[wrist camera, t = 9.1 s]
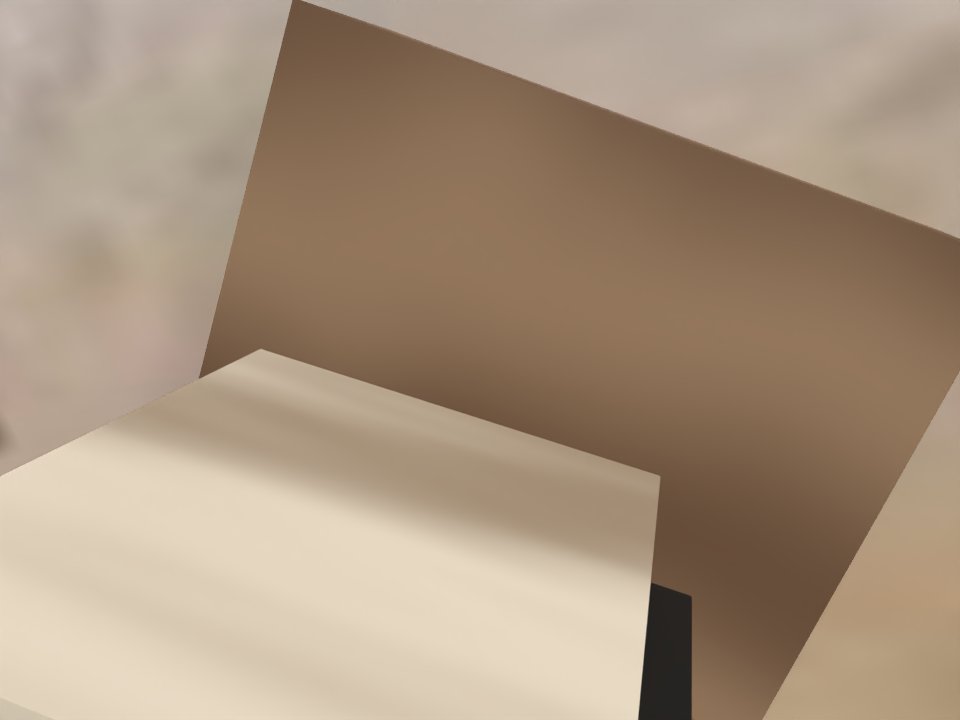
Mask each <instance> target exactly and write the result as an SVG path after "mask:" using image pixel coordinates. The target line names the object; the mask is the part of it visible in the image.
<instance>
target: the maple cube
mask: <svg viewBox="0 0 960 720" xmlns="http://www.w3.org/2000/svg"><path fill="white" fill-rule="evenodd" d="M659 487H660V476H659V475H656V474H653V473H649V472H646V471H643V470H640V469H637V468H634V467H630V466H627V465H624V464H621V463H618V462H615V461H612V460H608V459H605V458H602V457H599V456H596V455H593V454H590V453H586V452H583V451H580V450H577V449H574V448H571V447H568V446H564V445H561V444H558V443H555V442H552V441H549V440H546V439H542V438H539V437H536V436H533V435H530V434H527V433H524V432H520V431H517V430H514V429H511V428H508V427H505V426H502V425H498V424H495V423H492V422H489V421H486V420H483V419H480V418H476V417H473V416H470V415H467V414H464V413H461V412H457V411H454V410H451V409H448V408H445V407H442V406H439V405H435V404H432V403H429V402H426V401H423V400H420V399H417V398H413V397H410V396H407V395H404V394H401V393H398V392H395V391H391V390H388V389H385V388H382V387H379V386H376V385H373V384H369V383H366V382H363V381H360V380H357V379H354V378H351V377H347V376H344V375H341V374H338V373H335V372H332V371H329V370H325V369H322V368H319V367H316V366H313V365H310V364H307V363H303V362H300V361H297V360H294V359H291V358H288V357H284V356H281V355H278V354H275V353H272V352H269V351H266V350H262V349H259V350H257V351H255V352H253V353H251V354H249V355H247V356H245V357H243V358H241V359H239V360H237V361H235V362H233V363H231V364H229V365H227V366H225V367H223V368H221V369H218V370H216V371H214V372H212V373H210V374H208V375H206V376H204V377H202V378H200V379H198V380H196V381H194V382H192V383H190V384H188V385H186V386H184V387H182V388H180V389H178V390H176V391H174V392H172V393H169V394H167V395H165V396H163V397H161V398H159V399H157V400H155V401H153V402H151V403H149V404H147V405H145V406H143V407H141V408H139V409H137V410H135V411H133V412H131V413H129V414H127V415H125V416H123V417H120V418H118V419H116V420H114V421H112V422H110V423H108V424H106V425H104V426H102V427H100V428H98V429H96V430H94V431H92V432H90V433H88V434H86V435H84V436H82V437H80V438H78V439H76V440H73V441H71V442H69V443H67V444H65V445H63V446H61V447H59V448H57V449H55V450H53V451H51V452H49V453H47V454H45V455H43V456H41V457H39V458H37V459H35V460H33V461H31V462H29V463H27V464H24V465H22V466H20V467H18V468H16V469H14V470H12V471H10V472H8V473H6V474H4V475H2V476H0V720H638V714H639V703H640V692H641V681H642V671H643V660H644V649H645V638H646V627H647V617H648V606H649V595H650V584H651V573H652V562H653V552H654V541H655V530H656V519H657V508H658V497H659Z"/></svg>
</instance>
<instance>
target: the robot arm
mask: <svg viewBox="0 0 960 720" xmlns="http://www.w3.org/2000/svg"><path fill="white" fill-rule="evenodd" d="M638 720H693V719H692V597H691V596H690V595H687V594H684V593H681V592H678V591H675V590H672V589H669V588H666V587H663V586H660V585H657V584H654V583H652V582H651V584H650V595H649V606H648V617H647V627H646V638H645V649H644V660H643V671H642V681H641V692H640V703H639V714H638Z"/></svg>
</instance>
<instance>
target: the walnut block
mask: <svg viewBox="0 0 960 720" xmlns="http://www.w3.org/2000/svg"><path fill="white" fill-rule="evenodd" d="M259 349H262V350H266V351H269V352H272V353H275V354H278V355H281V356H284V357H288V358H291V359H294V360H297V361H300V362H303V363H307V364H310V365H313V366H316V367H319V368H322V369H325V370H329V371H332V372H335V373H338V374H341V375H344V376H347V377H351V378H354V379H357V380H360V381H363V382H366V383H369V384H373V385H376V386H379V387H382V388H385V389H388V390H391V391H395V392H398V393H401V394H404V395H407V396H410V397H413V398H417V399H420V400H423V401H426V402H429V403H432V404H435V405H439V406H442V407H445V408H448V409H451V410H454V411H457V412H461V413H464V414H467V415H470V416H473V417H476V418H480V419H483V420H486V421H489V422H492V423H495V424H498V425H502V426H505V427H508V428H511V429H514V430H517V431H520V432H524V433H527V434H530V435H533V436H536V437H539V438H542V439H546V440H549V441H552V442H555V443H558V444H561V445H564V446H568V447H571V448H574V449H577V450H580V451H583V452H586V453H590V454H593V455H596V456H599V457H602V458H605V459H608V460H612V461H615V462H618V463H621V464H624V465H627V466H630V467H634V468H637V469H640V470H643V471H646V472H649V473H653V474H656V475H659V476H660V487H659V497H658V508H657V519H656V530H655V541H654V552H653V562H652V573H651V582H652V583H654V584H657V585H660V586H663V587H666V588H669V589H672V590H675V591H678V592H681V593H684V594H687V595H690V596H691V597H692V719H693V720H762V719H763V717H764V715H765V714H766V712H767V710H768V708H769V706H770V705H771V703H772V701H773V699H774V698H775V696H776V694H777V692H778V691H779V689H780V687H781V685H782V684H783V682H784V680H785V678H786V676H787V675H788V673H789V671H790V669H791V668H792V666H793V664H794V662H795V661H796V659H797V657H798V655H799V654H800V652H801V650H802V648H803V646H804V645H805V643H806V641H807V639H808V638H809V636H810V634H811V632H812V631H813V629H814V627H815V625H816V624H817V622H818V620H819V618H820V616H821V615H822V613H823V611H824V609H825V608H826V606H827V604H828V602H829V601H830V599H831V597H832V595H833V594H834V592H835V590H836V588H837V586H838V585H839V583H840V581H841V579H842V578H843V576H844V574H845V572H846V571H847V569H848V567H849V565H850V564H851V562H852V560H853V558H854V557H855V555H856V553H857V551H858V549H859V548H860V546H861V544H862V542H863V541H864V539H865V537H866V535H867V534H868V532H869V530H870V528H871V527H872V525H873V523H874V521H875V519H876V518H877V516H878V514H879V512H880V511H881V509H882V507H883V505H884V504H885V502H886V500H887V498H888V497H889V495H890V493H891V491H892V489H893V488H894V486H895V484H896V482H897V481H898V479H899V477H900V475H901V474H902V472H903V470H904V468H905V467H906V465H907V463H908V461H909V459H910V458H911V456H912V454H913V452H914V451H915V449H916V447H917V445H918V444H919V442H920V440H921V438H922V437H923V435H924V433H925V431H926V429H927V428H928V426H929V424H930V422H931V421H932V419H933V417H934V415H935V414H936V412H937V410H938V408H939V407H940V405H941V403H942V401H943V399H944V398H945V396H946V394H947V392H948V391H949V389H950V387H951V385H952V384H953V382H954V380H955V378H956V377H957V375H958V373H959V371H960V239H959V238H956V237H954V236H951V235H949V234H946V233H944V232H942V231H939V230H937V229H934V228H931V227H928V226H926V225H923V224H920V223H917V222H915V221H912V220H909V219H906V218H904V217H901V216H898V215H895V214H893V213H890V212H887V211H884V210H882V209H879V208H876V207H874V206H871V205H868V204H865V203H863V202H860V201H857V200H854V199H852V198H849V197H846V196H843V195H841V194H838V193H835V192H832V191H830V190H827V189H824V188H821V187H819V186H816V185H813V184H811V183H808V182H805V181H802V180H800V179H797V178H794V177H791V176H789V175H786V174H783V173H780V172H778V171H775V170H772V169H769V168H767V167H764V166H761V165H758V164H756V163H753V162H750V161H747V160H745V159H742V158H739V157H737V156H734V155H731V154H728V153H726V152H723V151H720V150H717V149H715V148H712V147H709V146H706V145H704V144H701V143H698V142H695V141H693V140H690V139H687V138H684V137H682V136H679V135H676V134H674V133H671V132H668V131H665V130H663V129H660V128H657V127H654V126H652V125H649V124H646V123H643V122H641V121H638V120H635V119H632V118H630V117H627V116H624V115H621V114H619V113H616V112H613V111H611V110H608V109H605V108H602V107H600V106H597V105H594V104H591V103H589V102H586V101H583V100H580V99H578V98H575V97H572V96H569V95H567V94H564V93H561V92H558V91H556V90H553V89H550V88H547V87H545V86H542V85H539V84H537V83H534V82H531V81H528V80H526V79H523V78H520V77H517V76H515V75H512V74H509V73H506V72H504V71H501V70H498V69H495V68H493V67H490V66H487V65H484V64H482V63H479V62H476V61H474V60H471V59H468V58H465V57H463V56H460V55H457V54H454V53H452V52H449V51H446V50H443V49H441V48H438V47H435V46H432V45H430V44H427V43H424V42H421V41H419V40H416V39H413V38H411V37H408V36H405V35H402V34H400V33H397V32H394V31H391V30H388V29H385V28H382V27H379V26H376V25H373V24H370V23H367V22H364V21H361V20H358V19H355V18H352V17H349V16H346V15H343V14H340V13H337V12H334V11H331V10H328V9H325V8H322V7H319V6H316V5H313V4H310V3H307V2H304V1H301V0H293V1H292V5H291V9H290V13H289V17H288V21H287V25H286V29H285V33H284V37H283V41H282V45H281V49H280V53H279V57H278V61H277V65H276V69H275V73H274V77H273V82H272V86H271V90H270V94H269V98H268V102H267V106H266V110H265V114H264V118H263V122H262V126H261V130H260V134H259V138H258V142H257V146H256V150H255V154H254V158H253V162H252V166H251V170H250V174H249V178H248V183H247V187H246V191H245V195H244V199H243V203H242V207H241V211H240V215H239V219H238V223H237V227H236V231H235V235H234V239H233V243H232V247H231V251H230V255H229V259H228V263H227V267H226V271H225V275H224V279H223V284H222V288H221V292H220V296H219V300H218V304H217V308H216V312H215V316H214V320H213V324H212V328H211V332H210V336H209V340H208V344H207V348H206V352H205V356H204V360H203V364H202V368H201V372H200V376H199V379H200V378H202V377H204V376H206V375H208V374H210V373H212V372H214V371H216V370H218V369H221V368H223V367H225V366H227V365H229V364H231V363H233V362H235V361H237V360H239V359H241V358H243V357H245V356H247V355H249V354H251V353H253V352H255V351H257V350H259Z"/></svg>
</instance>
